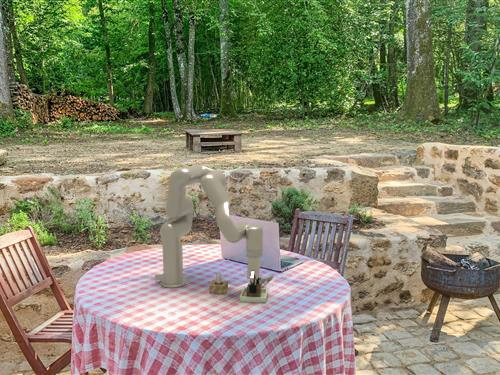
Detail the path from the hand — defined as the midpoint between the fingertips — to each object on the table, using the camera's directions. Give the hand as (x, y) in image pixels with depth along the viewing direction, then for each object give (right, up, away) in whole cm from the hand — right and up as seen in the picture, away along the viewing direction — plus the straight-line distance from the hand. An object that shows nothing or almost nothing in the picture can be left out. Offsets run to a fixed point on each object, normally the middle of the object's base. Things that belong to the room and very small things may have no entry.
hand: (254, 288), depth 225 cm
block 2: (0, -4, +1) cm, 4 cm away
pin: (-16, -3, +9) cm, 19 cm away
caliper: (+6, -2, +19) cm, 20 cm away
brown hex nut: (-17, -3, +9) cm, 19 cm away
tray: (0, -4, +1) cm, 4 cm away
